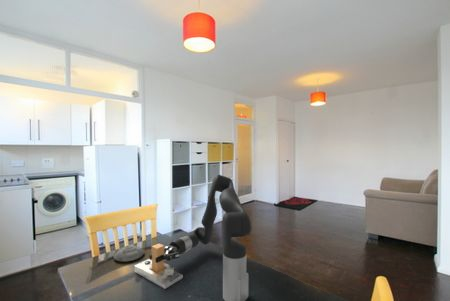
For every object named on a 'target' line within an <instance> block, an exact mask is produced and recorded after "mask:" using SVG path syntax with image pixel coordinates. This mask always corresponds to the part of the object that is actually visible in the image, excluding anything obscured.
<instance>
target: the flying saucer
mask: <svg viewBox="0 0 450 301" xmlns="http://www.w3.org/2000/svg"><path fill="white" fill-rule="evenodd" d="M143 255H145V250H144V249H143V248H142V247H141V246H137V245H129V246H124V247H122V248H120V249H119V250H117V251H116V252H115V253H114V255H113V259H114V261H117V262H131V261H135V260H139V259H140V258H141V257H143Z"/></svg>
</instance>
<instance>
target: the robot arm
mask: <svg viewBox="0 0 450 301" xmlns="http://www.w3.org/2000/svg"><path fill="white" fill-rule="evenodd" d="M211 182H212V183H211V187H210V191H209V193H208V199H207V202H206V204H207V205H206V208H205V211H204V213H203V216H202V218H201V221H200V223H201V225H202V226H203V227H204V228H203V227H200V226H198V227H196V228H195V229H194V230H193V231H192V232H191V233H190V234H188V235H185V236H182V237H179V238H177V239H175V240H172V241H171V242H170V243H169V245H166V246H164V254H163V255H161V256H159V257H156V259H155V262H156V263H158V262H160V261H162V260H164V261H167V262H169V261H173V260H176V259H179V258H180V256H181V255H182V254H185V253H186V252H189V251H190V250H191V249H193V248H195V247H197V246H198V245H199V243H202V245H208V244H210V242H211V240H212V237H213V231H214V229H213V228H214V223H215V222H216V219H217V218H216V217H217V215H218V209H217V208H218V207H217V204H216V198H215V197H216V193H217V192H219V193H220V194H219V197H218V198H219V200H218V201H219V204H220V208H221V209H222V211H224V212H225V213H224V214H223V215H222V221H221V223H222V224H221V227H222V299H223V300H224V301H246V300H247V299H248V298H249V272H247V247H246V245H245V244H244V243H242V242H240V241H237V240H234V239H233V238H241V237H247V236H249V235H250V234H251V231H252V223H251V219H250V216H249V214H248V212H247V211H246V210H245V208H244V207H243V205H242V203H241V200H240V198H239V196H238V194H237V191H236V190H235V186H234V182H233V179H231V178H230V177H227V176H224V175H221V174H216V175H215V176H214V177H213V180H212V181H211ZM148 257H149V258H148V259H150V260H152V253H151V254H149V256H148Z"/></svg>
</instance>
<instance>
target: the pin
mask: <svg viewBox="0 0 450 301" xmlns="http://www.w3.org/2000/svg"><path fill="white" fill-rule="evenodd" d="M164 247H165V245H164V244H162V243H157V244H154V245H151V254H152V271H153V272H155V273H158V272H160V271H162V270H164V263H165V260H162V261H160V262H158V263H156V262H155V259H156V257H159V256H161V255H163V254H164Z"/></svg>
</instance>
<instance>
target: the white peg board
mask: <svg viewBox="0 0 450 301" xmlns="http://www.w3.org/2000/svg"><path fill="white" fill-rule="evenodd" d="M174 267H175V266H172V265H170V264H168V263H165V262H164V270H162V271H160V272H158V273H155V272H153V271H152V260H150V259H149V258H147V259H146V260H144V261H140V262H139V263H137V264H134V273H136V274H138V275H139V276H141V277H143V278H145V279H147V280H148V281H150V282H152V283H153V284H155V285H157V286H159V287H160V288H163V289H164V290H166V289H167V288H169V287H171V286H172V285H173V284H175V283H177V282H179V281H180V280H182V279H183V277H184V276H183V273H181V272H178V271H176V270H175V269H174Z"/></svg>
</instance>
